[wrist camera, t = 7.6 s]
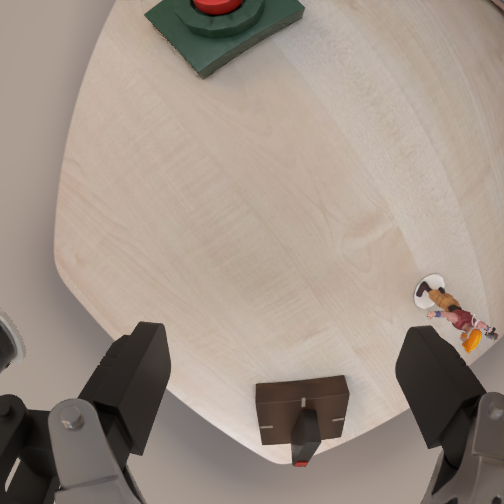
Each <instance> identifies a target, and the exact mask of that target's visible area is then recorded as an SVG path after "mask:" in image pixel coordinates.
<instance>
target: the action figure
mask: <svg viewBox="0 0 504 504" xmlns="http://www.w3.org/2000/svg"><path fill="white" fill-rule="evenodd" d="M444 288H445V284H444V280H443V278H442V277H441V276H439V275H436V274H432V275H429V276H427V277H425V278H424V279H423V280H422V281H421V282H420V283H419V284H418V286H417V288H416V290H415V294H414V300H415V303H416V305H417V306H418V307H420V308H429V307H432V306H433V305H435V304H436V305H438V306H439V307H441V308H443V309H444V310H445V311H435V312H434V311H433V312H431V311H430V312H428V314H427V317H430V318H429V320H430V319H432V318H433V317H446V318H447V320H448V321H451V322H452V324H453V326H454V327H455V328H457V329H459V330H464V331H466V332H465V333H464V332H463V333H462V334H461V337H460V339H461V340H462V341H463V342H464V343H462V346H463V347H464V349H465V350H466V352H467V353H470V351H471V350H474V349H475V348H476V346H477V345H478V343H479V341H480V339H481V337H482V332H481V331H480V330H479V329H480V328H484V330H486V331H487V332H486V334H485V336H486V337H488V338H491V339H494V340H495V339H497V337H498V334H496V333H494V331H495V330H496V329H495V328H494V327H493V329H491V327H488V325H486V324H485V323H484V322H482V321H480V320H479V319H477V320H476V319H474V316H475V314H474V316H472V315H471V314H470V312H467V311H464V310H462V309H461V307H460V306H459V303H458V301H457V300H455V299H454V298H453V296H451V295H450V294H447V293H445V290H444Z"/></svg>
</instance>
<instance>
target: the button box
mask: <svg viewBox="0 0 504 504" xmlns="http://www.w3.org/2000/svg"><path fill="white" fill-rule="evenodd" d="M304 9H305V7H304V6H303V5H302V4H301V3H300V2H299V1H298V0H243V1H242V2H241V4H240V5H239V6H238V7H237V8H236V9H234V10H232V11H230V12H228V13H225V14H219V15H211V14H207V13H204V12H202V11H200V10H199V9H198V8H197V7H196V5H195V3H194V1H193V0H163V1H161V2H160V3H159V4H157V5H156V6H155V7H153V8H152V9H151V10H149V11H148V12H147V13H145V14H144V16H145V17H146V18H147V19H148V20H149V21H150V22H151V23H152V24H153V25H154V26H155V27H156V28H157V29H158V30H159V31H160V32H161V33H162V34H163V35H164V36H165V37H166V39H167V40H168V41H169V42H170V43H171V44H172V45H173V46H174V47H175V48H176V49H177V50H178V52H179V53H180V54H181V55H182V56H183V57H184V58H185V59H186V60H187V61H188V63H189V64H190V65H191V66H192V67H193V68H194V69H195V71H196V72H197V73H198V74H199V75H200V76H201V77H202V79H205V78H206V77H207V76H209V75H210V74H212V73H213V72H214V71H216V70H217V69H219V68H220V67H221V66H223V65H224V64H226V63H227V62H229V61H230V60H232V59H233V58H235V57H236V56H238V55H239V54H241V53H242V52H244V51H245V50H247V49H248V48H250V47H252V46H253V45H255V44H256V43H258V42H260V41H261V40H263V39H265V38H266V37H268V36H270V35H272V34H273V33H275V32H277V31H279V30H280V29H282V28H284V27H286V26H288V25H290V24H292V23H293V22H295V21H297V20H299V19H301V18H302V15H303V12H304Z"/></svg>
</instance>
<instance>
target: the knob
mask: <svg viewBox="0 0 504 504" xmlns="http://www.w3.org/2000/svg"><path fill="white" fill-rule="evenodd" d="M320 444H321V436H320V429H319V423H318V417H317V411H316V410H302V412H301V414H300V417H299V419H298V421H297V423H296V425H295V428H294V430H293V432H292V434H291V450H292V464H293V465H294V466H295V467H301V466H302V467H303V466H304V467H306V465H307V464H308V462H309V460H310V459H311V457H312V456H313V454H314V453H315V451H316V450H317V448H318V447H319V445H320Z"/></svg>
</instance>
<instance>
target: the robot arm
mask: <svg viewBox="0 0 504 504" xmlns="http://www.w3.org/2000/svg"><path fill="white" fill-rule="evenodd" d="M16 356H17V347H16V344H15V341H14V339H13V337H12V335H11V333H10V332H9V330H8V329H7V327H6V326H5V325H4V324H3V322H2V321H1V320H0V373H1V372H2V371H3V370H4V369H5V368H7V367H8V366H9V365H10V364H9V363H10V362H11V361H12V360H13V359H14V358H15V357H16ZM395 372H396V378H397V380H398V382H399V384H400V387H401V389H402V391H403V393H404V395H405V397H406V399H407V401H408V404H409V406H410V408H411V410H412V412H413V415H414V417H415V419H416V421H417V424H418V426H419V428H420V431H421V433H422V435H423V438H424V440H425V442H426V445H427V447H428V449H431V448H434V447H438V446H442V448H443V450H442V451H441V453H440V454H439V457H438V460H437V463H436V466H435V469H434V472H433V474H432V477H431V480H430V483H429V485H428V488H427V490H426V493H425V495H424V498H423V500H422V502H421V503H420V504H504V395H503V394H500V393H497V392H488V393H487V392H486V390H485V389H484V388H483V386H482V385H481V384H480V382H479V380H478V379H477V378H476V376H475V375H474V373H473V372H472V371H471V369H470V368H469V367H468V365H467V366H466V362H465V361H464V360H463V358H460V354H459V353H458V352H457V351H456V349H455V348H454V347H453V346H452V345H451V344H450V343H448V342H447V341H445V340H444V339H443V338H441V337H440V336H439V334H438V333H437V332H436V331H435V329H434V328H433V327H432V326H430V325H429V326H417V327H411V328H409V330H408V331H407V334H406V337H405V340H404V343H403V345H402V348H401V351H400V354H399V356H398V359H397V362H396V367H395ZM170 373H171V359H170V354H169V348H168V343H167V337H166V331H165V327H164V325H163V324H161V323H151V322H142V321H141V322H139V323H138V324H137V326H136V327H135V329H134V331H133V332H132V334H131V335H123V336H122V337H121V338H119V339H118V340H116V341H115V342H114V343H112V345H111V346H110V348H109V350H108V351H107V353H106V356H104V357H103V359H102V360H101V362H100V365H98V366H97V368H96V369H95V371H94V373H93V374H92V376H91V377H90V379H89V381H88V382H87V384H86V385H85V387H84V388H83V390H82V392H81V393H80V395H79V396H78V398H77V399H76V398H75V399H67V400H64V401H62V402H60V403H58V404H57V405H56V406H55V407H54V408H53V409H52V410H51V411H42V410H41V411H40V410H29V409H27V408H26V406H25V405H24V403H23V401H22V400H21V399H20V398H19V397H17V396H15V395H10V394H8V395H7V394H6V395H2V396H0V504H53V503H54V500H55V502H56V504H147V503H146V501H145V499H144V497H143V495H142V494H141V492H140V490H139V488H138V486H137V484H136V482H135V480H134V478H133V476H132V473H131V471H130V469H129V467H128V465H127V463H126V462H127V459H128V457H129V454H130V453H132V454H137V455H141V456H142V455H143V452H144V449H145V446H146V443H147V440H148V437H149V434H150V431H151V428H152V426H153V423H154V420H155V417H156V414H157V411H158V408H159V405H160V403H161V400H162V397H163V394H164V391H165V389H166V386H167V383H168V380H169V377H170ZM17 457H18V458H19V459H20V460H21V461H20V463H19V465H18V468H17V470H16V472H15V474H14V476H13V478H12V481H11V483H10V485H9V487H8V490H7V492H6V491H5V483H6V480H7V478H8V476H9V473H10V472H11V469H12V467H13V465H14V463H15V461H16V459H17ZM60 485H61V487H60V489H59V486H60Z"/></svg>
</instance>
